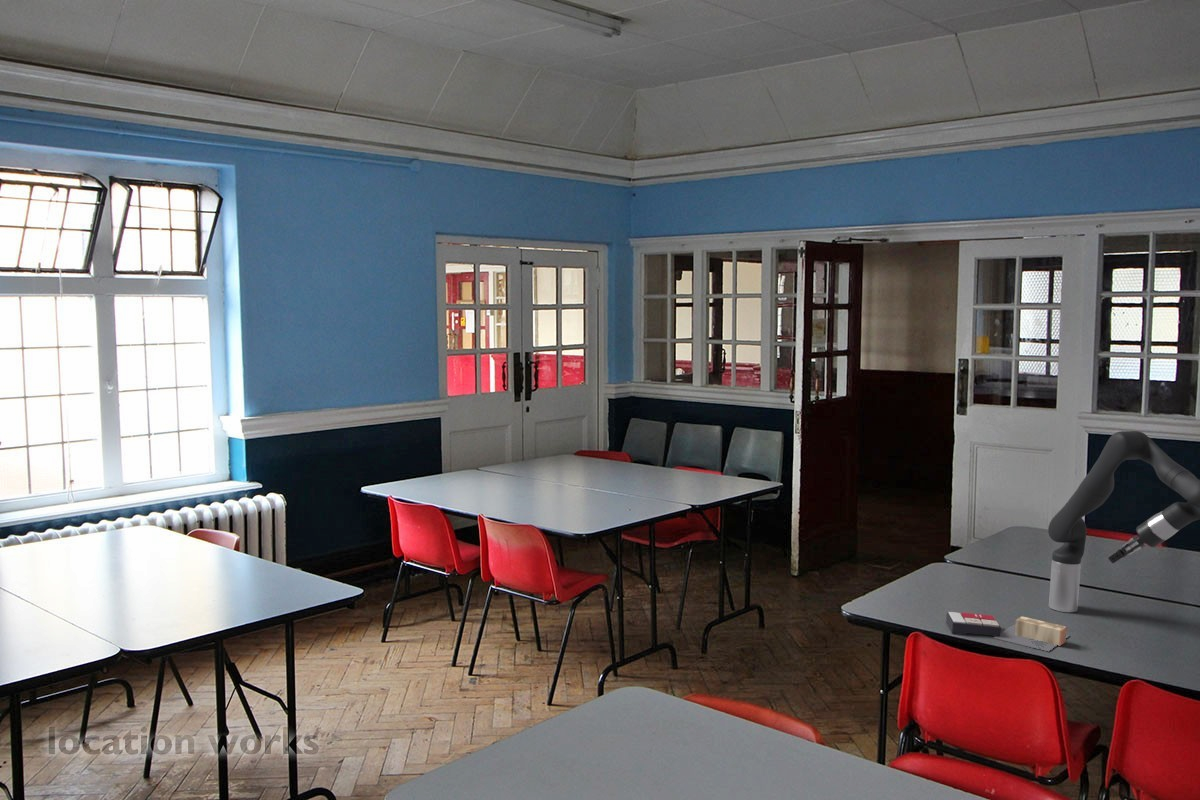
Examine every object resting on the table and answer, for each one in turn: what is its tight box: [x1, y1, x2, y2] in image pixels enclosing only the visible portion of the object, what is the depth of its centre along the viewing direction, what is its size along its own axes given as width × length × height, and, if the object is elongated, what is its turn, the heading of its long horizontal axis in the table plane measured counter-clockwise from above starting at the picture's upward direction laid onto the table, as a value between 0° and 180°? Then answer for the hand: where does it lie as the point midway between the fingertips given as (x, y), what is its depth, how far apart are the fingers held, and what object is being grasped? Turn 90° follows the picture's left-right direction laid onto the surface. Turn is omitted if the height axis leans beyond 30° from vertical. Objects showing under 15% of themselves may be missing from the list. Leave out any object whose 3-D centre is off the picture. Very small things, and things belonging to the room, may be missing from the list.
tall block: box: [1015, 615, 1067, 647], centre depth 313 cm, size 5×5×14 cm
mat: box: [993, 622, 1071, 653], centre depth 315 cm, size 20×17×1 cm
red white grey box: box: [945, 611, 1002, 637], centre depth 320 cm, size 11×4×15 cm
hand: (1110, 560), depth 304 cm, fingers closed
